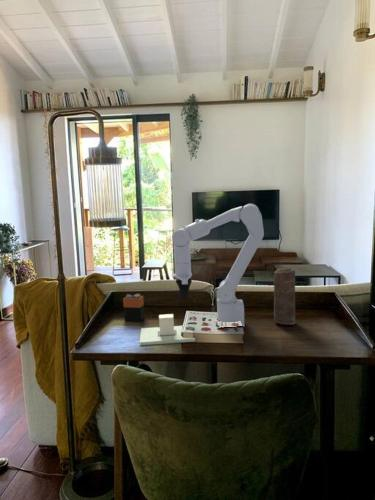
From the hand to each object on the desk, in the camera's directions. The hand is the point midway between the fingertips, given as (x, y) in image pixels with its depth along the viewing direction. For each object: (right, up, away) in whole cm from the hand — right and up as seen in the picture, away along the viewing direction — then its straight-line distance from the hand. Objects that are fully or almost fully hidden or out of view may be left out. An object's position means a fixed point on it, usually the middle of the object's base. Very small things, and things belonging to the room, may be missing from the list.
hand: (184, 298), depth 141 cm
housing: (-6, -10, -10) cm, 15 cm away
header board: (-6, -12, -10) cm, 16 cm away
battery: (-19, -9, +7) cm, 22 cm away
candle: (+36, -9, -3) cm, 37 cm away
